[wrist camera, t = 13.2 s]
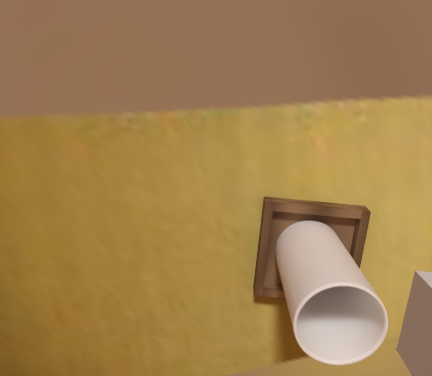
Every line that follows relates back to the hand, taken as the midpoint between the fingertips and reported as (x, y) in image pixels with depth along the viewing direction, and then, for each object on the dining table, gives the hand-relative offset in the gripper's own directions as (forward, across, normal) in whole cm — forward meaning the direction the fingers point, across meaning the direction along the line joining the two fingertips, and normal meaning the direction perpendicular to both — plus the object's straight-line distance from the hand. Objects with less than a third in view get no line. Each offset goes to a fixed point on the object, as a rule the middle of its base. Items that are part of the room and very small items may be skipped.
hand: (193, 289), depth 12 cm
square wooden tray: (+37, +12, -14) cm, 41 cm away
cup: (+36, +12, -14) cm, 40 cm away
